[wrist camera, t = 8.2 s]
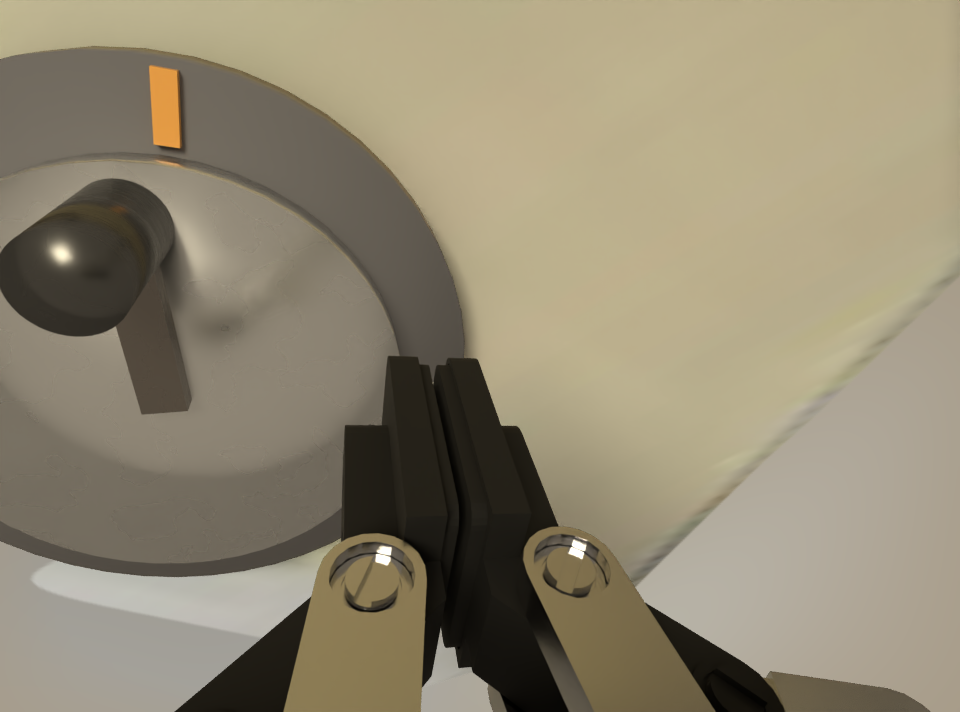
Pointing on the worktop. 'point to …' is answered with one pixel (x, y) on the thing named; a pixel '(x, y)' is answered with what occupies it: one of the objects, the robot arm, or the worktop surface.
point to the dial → (176, 359)
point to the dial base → (252, 154)
